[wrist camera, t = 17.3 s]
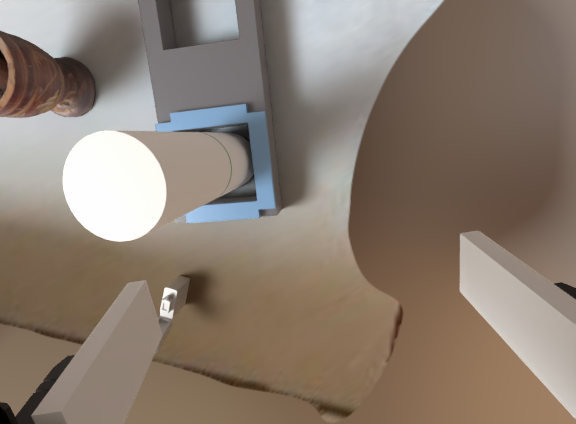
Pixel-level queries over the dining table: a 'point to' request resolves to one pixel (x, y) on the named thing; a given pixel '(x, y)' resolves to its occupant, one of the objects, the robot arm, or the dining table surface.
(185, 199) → the cylindrical container
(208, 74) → the socket rack
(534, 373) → the robot arm
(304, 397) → the dining table surface
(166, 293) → the lighter
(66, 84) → the mortar and pestle
